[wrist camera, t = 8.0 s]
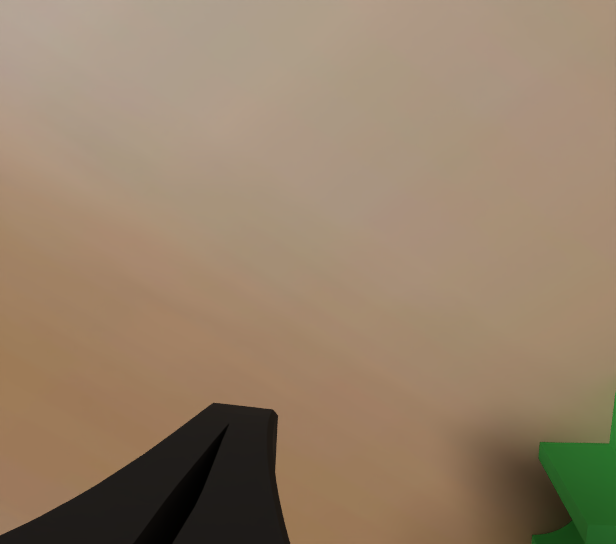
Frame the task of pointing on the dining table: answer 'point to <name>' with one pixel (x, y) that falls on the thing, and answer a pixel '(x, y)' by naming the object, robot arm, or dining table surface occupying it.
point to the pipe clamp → (583, 489)
